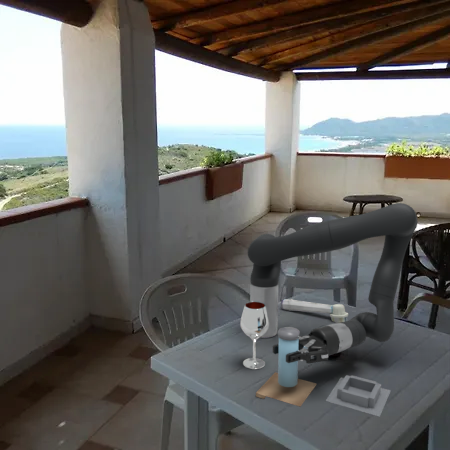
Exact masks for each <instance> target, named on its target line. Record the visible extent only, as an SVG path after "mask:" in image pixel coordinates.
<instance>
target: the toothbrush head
mask: <svg viewBox="0 0 450 450" xmlns="http://www.w3.org/2000/svg"><path fill="white" fill-rule="evenodd" d="M280 308H281V310H284V311H290V312H292V311H293V312H307V313H320V314H329V316H330V318H331V319H330V320H331V321H332V322H334V324H337V323H342V322H345V321H348V316H349V313H348V312H346V307H345V305H344V304H342V303H336V304H327V303H319V302H309V301H303V300H296V299H293V298H291V299H285V298H284V299H282V300H281V302H280Z"/></svg>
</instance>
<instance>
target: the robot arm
mask: <svg viewBox="0 0 450 450" xmlns="http://www.w3.org/2000/svg"><path fill="white" fill-rule="evenodd" d="M418 222H419V221H418V216H417V213H416V211H415V209H414V208H413V207H411V205H409V204H406V203H402V202H401V203H399V202H398V203H397V202H396V203H393V204H389V205H386V206H384V207H382V208H378V209H375V210H372V211H369V212H367V213H362V214H358V215H351V216H345V217H340V218H334V219H330V220H326V221H321V222H317V223H314V224H312V225H308V226H306V227H303V228H301V229H299V230H296V231H294V232H292V233H289V234H284V235H281V236H280V235H279V236H275V235H273V234H271V233H265V234H261V235H259V236H257V237H256V238H254V240H252V242H251V243H250V244H249V246H248V249H247V257H248V259H249V261H250V262H251V263H252V264H253V267H252V271H251V274H250V284H249V285H250V287H249V289H250V290H249V291H250V292H249V293H250V295H249V296H250V299H249V300H250V301H249V302H261V303H263V304H265V307H266V311H267V315H268V319H269V328H268V330H267V331H266V333H265V334H263V335H262V336H261V337H260V338H263V339H264V338H265V339H266V338H267V339H268V338H272V337H276V335H278V329H279V328H278V322H279V321H278V318H279V317H278V316H279V315H278V312H279V283H280V282H279V280H280V279H279V278H280V274H281V268H282V267H281V265H282V262H283V261H285V260H288V259H292V258H299V257H305V256H312V255H318V254H324V253H329V252H333V251H338V250H341V249H345V248H347V247H350V246H353V245H355V244H357V243H360V242H362V241H365V240H367V239H370V238H377V237H383V236H384V243H383V248H382V252H381V255H380V257H379V260H378V263H377V266H376V268H375V272H374V274H373V277H372V281H371V285H370V289H369V293H368V296H367V297H368V298H367V299H368V302H369V303H370V304H371V305H373V306H374V307H375V308H376V313H375V312H371V311H369V312H368V311H364V312H360V313H358V314H356V315H355V316H353V317H352V318H350V319H348V320H347V321H345V322H340V323H331V324H327V325H324V326H321V327H317V328H315V329H314V328H313V329H312V330H311V331H310V333H308V335H302V336H299V344H298V351H296V352H292V353H289V354H287V355H286V362H287V363H291V362H295V361H298V362H299V361H300V362H305V363H306V364H313V363H314V364H315V363H321V362H326V361H329V356H331V355H334V354H335V355H336V354H338V353H341V352H343V351H345V350H348V349H350V348H353V347H357V346H360V345H361V344H363V343H364V341H366V338H369V339H372V340H374V341H377V342H379V343H384V342H387V341H389V340H390V339H391V337H392V336H393V334H394V331H395V311H394V310H395V309H394V307H395V306H394V304H395V298H396V294H397V291H398V287H399V281H400V275H401V272H402V271H401V270H402V267H403V262H404V259H405V255H406V251H407V249H408V246H409V243H410V241H411V239H412V237H413V234H414V232H415V231H416V229H417V227H418ZM278 351H279V343H277V344H274V345H273V346H272V353H273V354H274V355H278ZM312 357H313V358H312Z"/></svg>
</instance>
